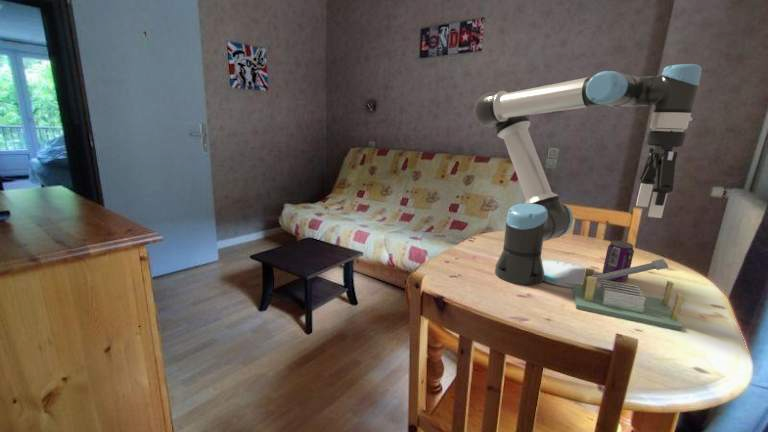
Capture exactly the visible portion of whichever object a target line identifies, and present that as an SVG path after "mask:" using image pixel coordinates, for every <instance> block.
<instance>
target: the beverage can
mask: <svg viewBox="0 0 768 432" xmlns="http://www.w3.org/2000/svg"><path fill="white" fill-rule="evenodd" d="M634 253H635V251H634V245H633V244H632V243H630V242H628V241H621V240H611V241H610V244H609V245H608V246H607V249H606V254H605V259H604V263H603V269H602V273H601V274H605V273H609V272H613V271H618V270H622V269H627V268H631V267H632V262H633V257H634ZM628 279H629V275H625V276H620V277H616V278H611V279H610V281H614V282H615V281H616V282H622V281H627V280H628Z"/></svg>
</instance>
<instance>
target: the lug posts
mask: <svg viewBox="0 0 768 432" xmlns="http://www.w3.org/2000/svg"><path fill="white" fill-rule="evenodd" d="M594 272H595V269H594V268H590V267H585V270H584V275H583V280H582V284H583V285H582V291H585V294H584V300H586V301H591V302H592V299H593V295H594V290H595V287H596V284H597V282H596V280H597V278H596V277H592V276H594ZM587 275H591V276H588V279H587V280H586V276H587ZM673 288H674V282H673V281H671V280H667V282H666V286H665V289H664V293H663V297H662V299H663V300H662V304H663V305H665V306H667V305H668V306H669V301H670V297H671V294H672V291H673ZM683 300H684V294H682V293H676V296H675V300H674V303H673V307H672V309H671V310H672V314H671V319H672V320H678V317H679V315H680V310H681V308H682V307H681V306H682V304H683Z"/></svg>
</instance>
